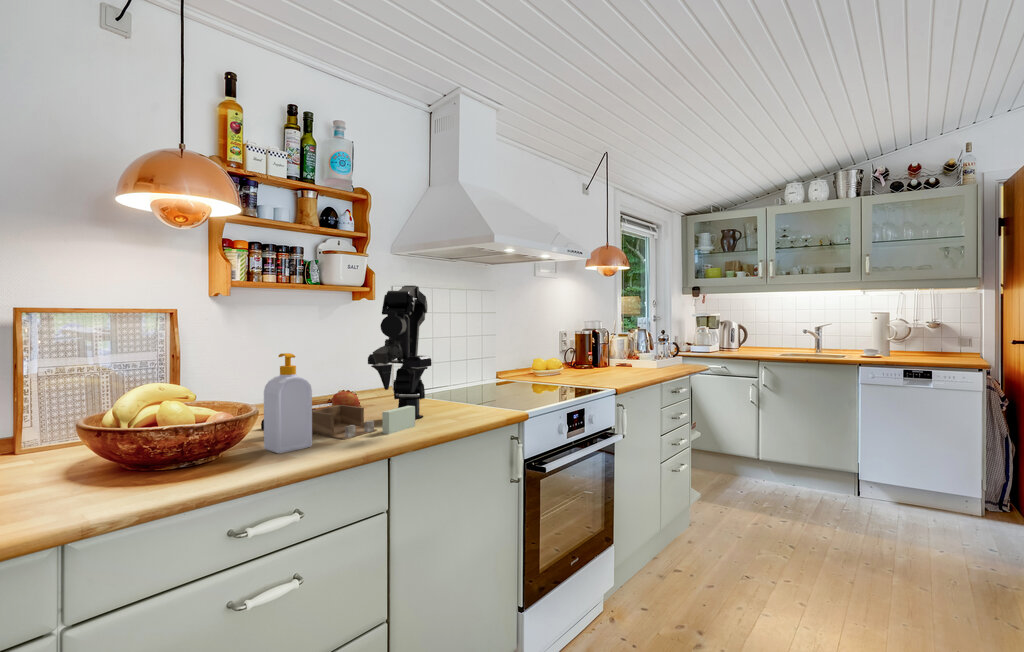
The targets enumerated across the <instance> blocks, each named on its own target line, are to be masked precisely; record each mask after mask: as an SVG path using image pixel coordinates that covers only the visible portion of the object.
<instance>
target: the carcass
mask: <svg viewBox="0 0 1024 652" xmlns="http://www.w3.org/2000/svg"><path fill="white" fill-rule="evenodd" d="M377 431H378V428H377V429H376V428H375V421H374V420H371V419H370V420H367V421H365V408H364V407H362V406H359V407H355V406H347V405H337V406H332V405H331V406H328V407H323V408H318V409H316V410H312V435H313V436H314V435H316V436H321V437H327V438H333V439H339V440H345V441H346V440H349V439H351V438H355V437H358V436H362V435H363V436H364V435H366V434H370V433H374V432H377Z"/></svg>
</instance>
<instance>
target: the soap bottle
mask: <svg viewBox="0 0 1024 652" xmlns="http://www.w3.org/2000/svg"><path fill="white" fill-rule="evenodd" d="M283 357H284V365H279V375H277V376H274V377H273V378H271V379H270V380H268V382H267V383H266V384H265V385H264V389H263V419H264V430H263V448H264V450H266V451H270V452H271V453H275V454H279V455H280V454H284V453H289V452H293V451H299V450H302V449H304V450H305V449H307V448H308V447H309V448H311V447H312V446H313V434H312V409H313V389H312V385H311V383H310V382H309V381H308V380H307V379H305V378H303V377H300V376H298V375H297V366H296V365H294V364H293V365H292V359H293V358H296V355H295V354H293V353H292V352H291V353H290V352H289V353H288V352H287V353H280V354H278V358H283Z"/></svg>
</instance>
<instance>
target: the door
mask: <svg viewBox="0 0 1024 652" xmlns="http://www.w3.org/2000/svg"><path fill="white" fill-rule="evenodd" d="M381 413H382V414H381V415H382V417H381V418H382V425H381V426H382V429H381V430H382V434H387V435H391V434H396V433H398V432H401V431H405V430H409V429H412V428H415V427H416V419H415V406H405V407H401V408H398V407H397V408H392V409H389V410H384V411H381Z"/></svg>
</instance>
